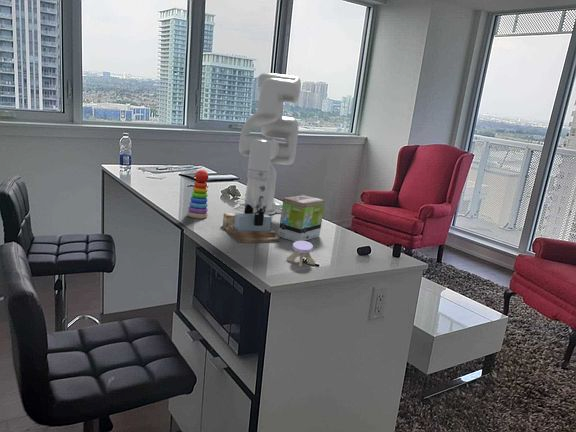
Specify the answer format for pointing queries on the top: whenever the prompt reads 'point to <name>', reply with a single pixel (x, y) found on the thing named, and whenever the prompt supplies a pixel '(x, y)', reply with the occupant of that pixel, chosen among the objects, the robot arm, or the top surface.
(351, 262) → the top surface
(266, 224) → the light blue rectangular block
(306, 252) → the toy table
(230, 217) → the beige rectangular block
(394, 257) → the top surface
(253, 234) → the cradle jig
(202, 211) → the stacking toy
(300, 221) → the tea box
